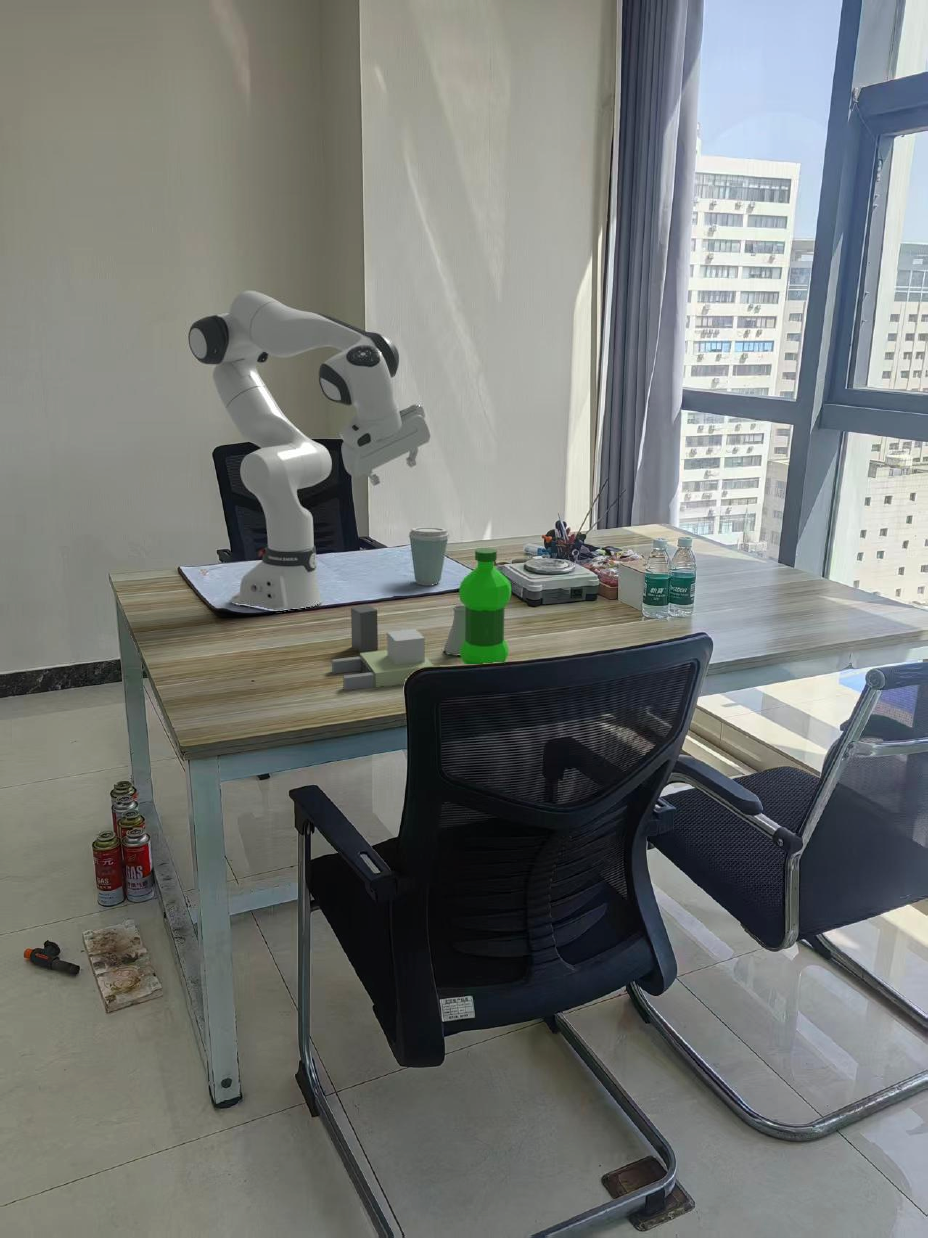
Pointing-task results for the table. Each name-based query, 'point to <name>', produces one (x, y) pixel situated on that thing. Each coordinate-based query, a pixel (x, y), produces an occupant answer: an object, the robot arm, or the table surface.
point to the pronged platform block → (385, 662)
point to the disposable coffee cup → (428, 553)
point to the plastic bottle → (484, 611)
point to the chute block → (364, 628)
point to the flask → (456, 631)
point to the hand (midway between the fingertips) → (394, 474)
